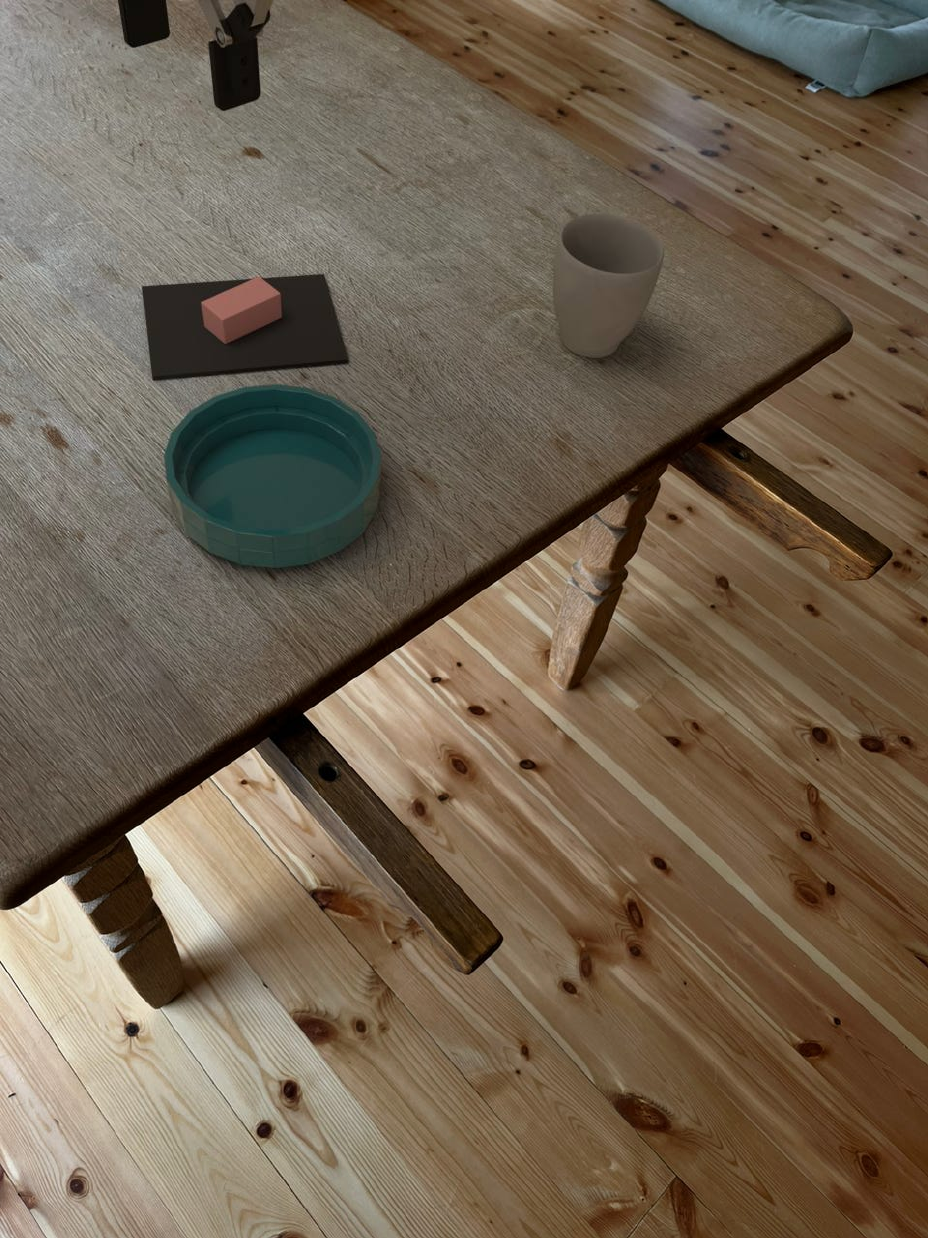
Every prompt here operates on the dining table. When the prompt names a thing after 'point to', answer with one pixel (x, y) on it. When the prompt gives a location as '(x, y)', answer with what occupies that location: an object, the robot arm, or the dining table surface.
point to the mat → (278, 345)
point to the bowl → (273, 475)
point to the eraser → (241, 310)
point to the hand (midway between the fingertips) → (191, 71)
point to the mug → (603, 280)
